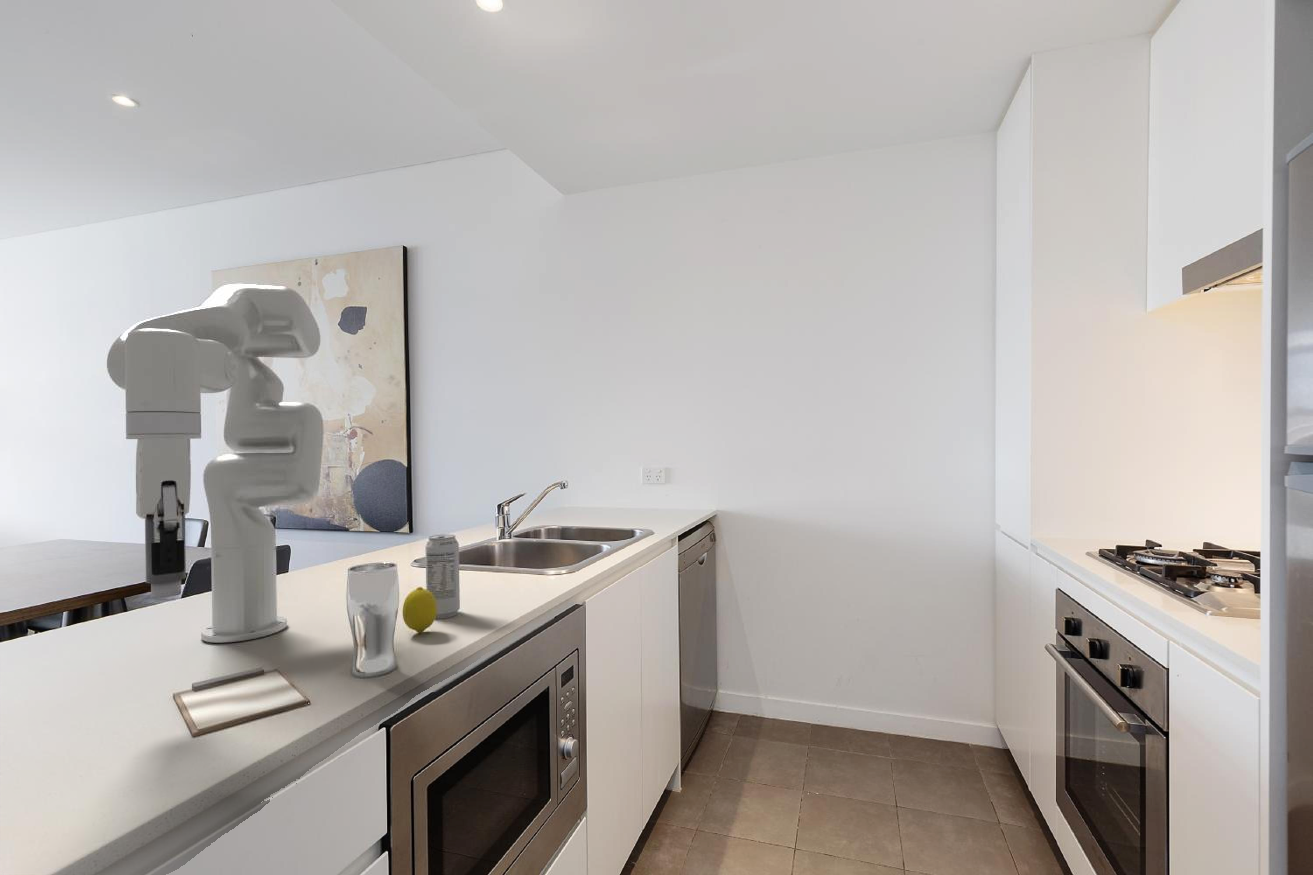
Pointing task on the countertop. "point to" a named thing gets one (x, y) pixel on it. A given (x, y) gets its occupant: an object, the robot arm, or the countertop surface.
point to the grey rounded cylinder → (168, 582)
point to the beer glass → (373, 617)
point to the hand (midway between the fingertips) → (166, 569)
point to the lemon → (419, 609)
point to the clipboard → (237, 699)
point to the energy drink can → (443, 573)
